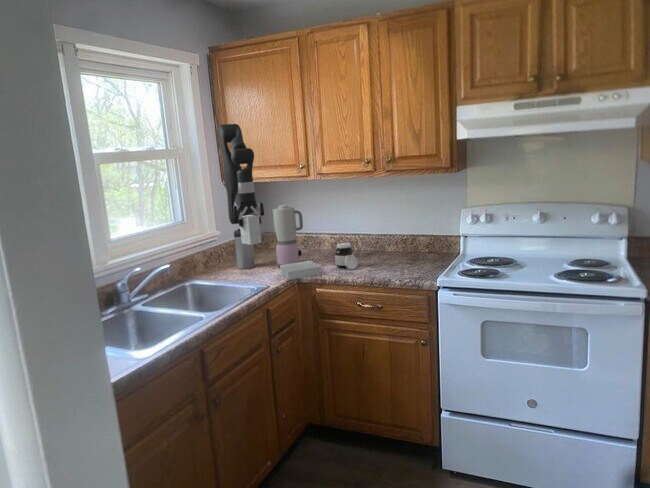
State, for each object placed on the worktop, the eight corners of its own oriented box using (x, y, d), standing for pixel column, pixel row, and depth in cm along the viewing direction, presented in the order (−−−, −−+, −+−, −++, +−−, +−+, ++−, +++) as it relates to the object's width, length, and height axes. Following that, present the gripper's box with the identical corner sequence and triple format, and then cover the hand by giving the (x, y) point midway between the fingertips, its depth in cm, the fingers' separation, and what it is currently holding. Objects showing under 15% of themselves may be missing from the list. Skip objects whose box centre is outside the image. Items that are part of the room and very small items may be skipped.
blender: (274, 269, 254) (267, 207, 248) (281, 263, 265) (275, 204, 259) (303, 268, 250) (297, 206, 244) (309, 262, 261) (304, 203, 256)
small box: (261, 242, 233) (259, 215, 231) (250, 245, 229) (247, 217, 227) (252, 241, 239) (249, 214, 237) (241, 243, 235) (238, 216, 232)
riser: (280, 273, 244) (279, 265, 243) (311, 268, 248) (310, 260, 248) (288, 280, 229) (287, 271, 228) (321, 274, 233) (320, 266, 233)
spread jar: (342, 264, 252) (341, 242, 250) (362, 265, 246) (361, 242, 244) (332, 270, 241) (330, 246, 239) (352, 271, 236) (351, 247, 234)
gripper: (260, 189, 235) (263, 223, 238) (230, 192, 230) (234, 226, 234) (263, 190, 228) (266, 225, 231) (232, 193, 223) (236, 228, 227)
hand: (250, 225), depth 232 cm, fingers closed on small box, 8 cm apart
